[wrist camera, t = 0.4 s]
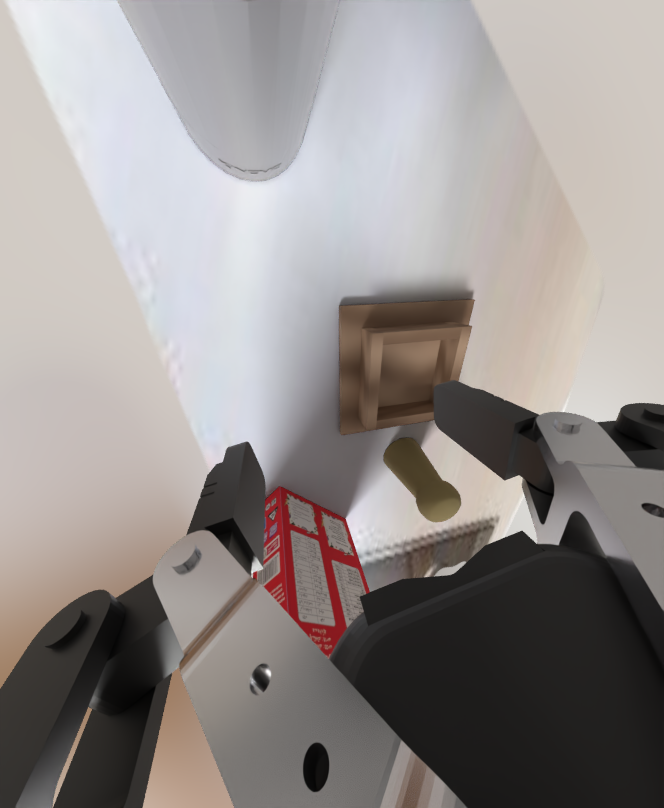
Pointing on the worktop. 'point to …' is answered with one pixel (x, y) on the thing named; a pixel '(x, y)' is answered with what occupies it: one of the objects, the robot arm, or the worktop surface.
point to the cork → (422, 480)
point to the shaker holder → (398, 360)
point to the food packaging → (311, 567)
